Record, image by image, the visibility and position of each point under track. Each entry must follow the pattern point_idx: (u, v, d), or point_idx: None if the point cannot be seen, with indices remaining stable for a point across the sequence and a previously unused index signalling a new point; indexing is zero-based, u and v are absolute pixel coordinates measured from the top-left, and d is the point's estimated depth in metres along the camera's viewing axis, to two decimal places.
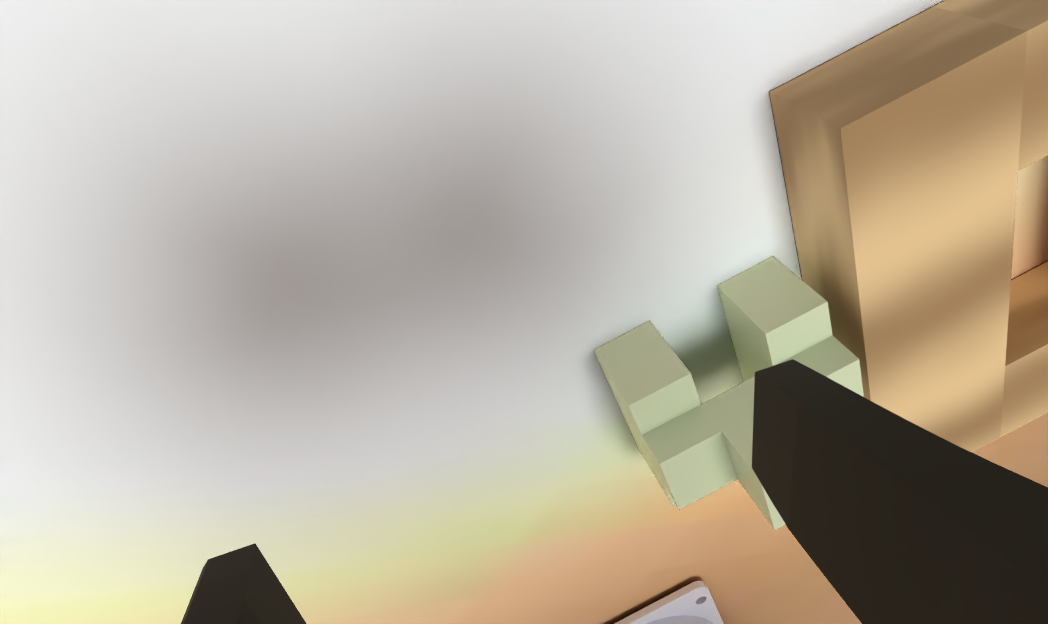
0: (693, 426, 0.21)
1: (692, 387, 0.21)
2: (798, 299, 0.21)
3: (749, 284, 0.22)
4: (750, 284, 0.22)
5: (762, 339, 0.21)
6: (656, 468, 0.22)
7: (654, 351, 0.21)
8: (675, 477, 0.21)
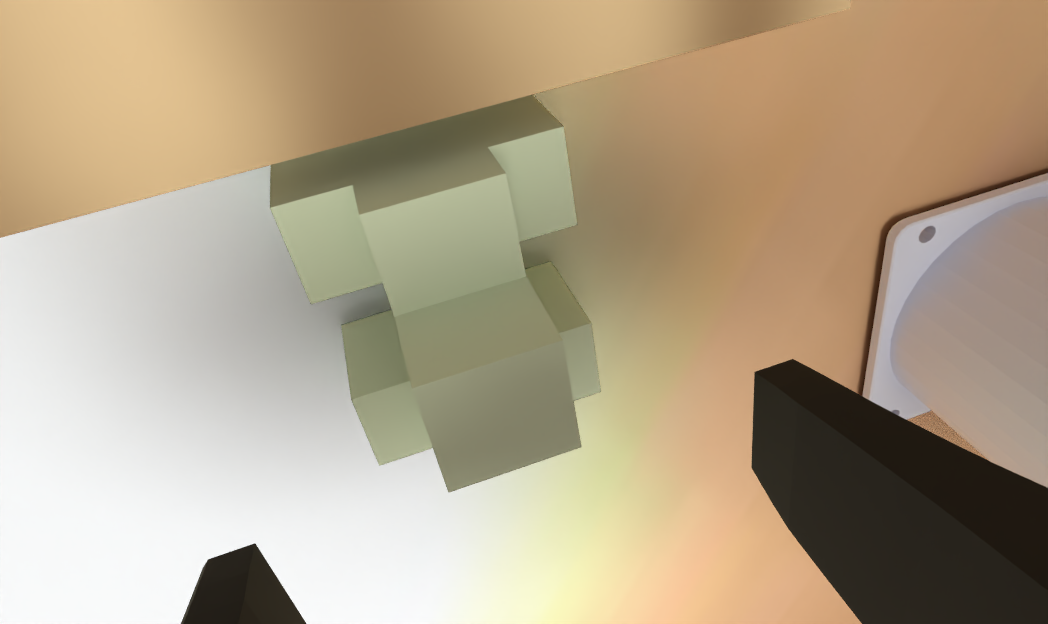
0: None
1: (379, 394, 0.15)
2: None
3: None
4: None
5: (332, 290, 0.13)
6: None
7: None
8: None
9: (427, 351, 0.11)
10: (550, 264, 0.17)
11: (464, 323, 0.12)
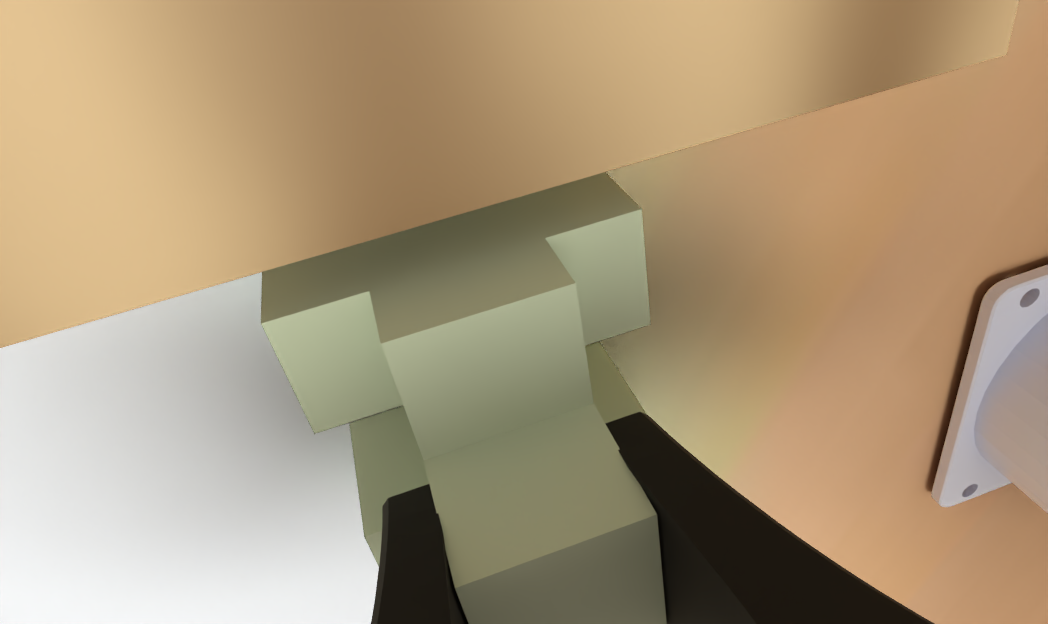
0: None
1: None
2: None
3: None
4: None
5: (341, 412, 0.10)
6: None
7: None
8: None
9: (471, 522, 0.08)
10: (600, 347, 0.14)
11: (518, 477, 0.09)
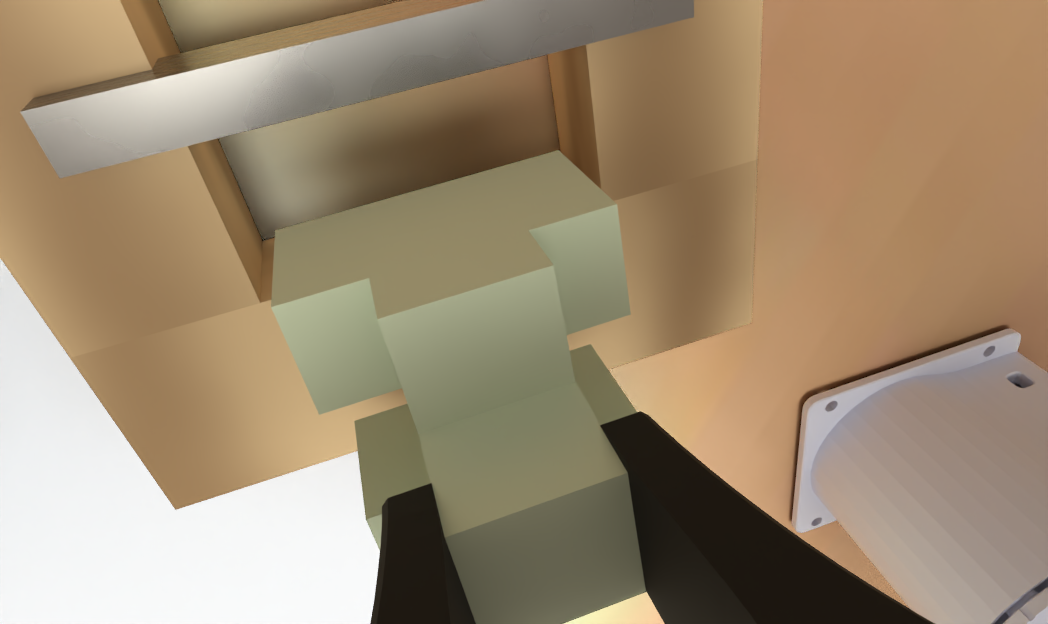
0: None
1: None
2: None
3: None
4: None
5: (345, 396, 0.11)
6: None
7: None
8: None
9: (460, 484, 0.09)
10: (591, 348, 0.15)
11: (504, 445, 0.10)
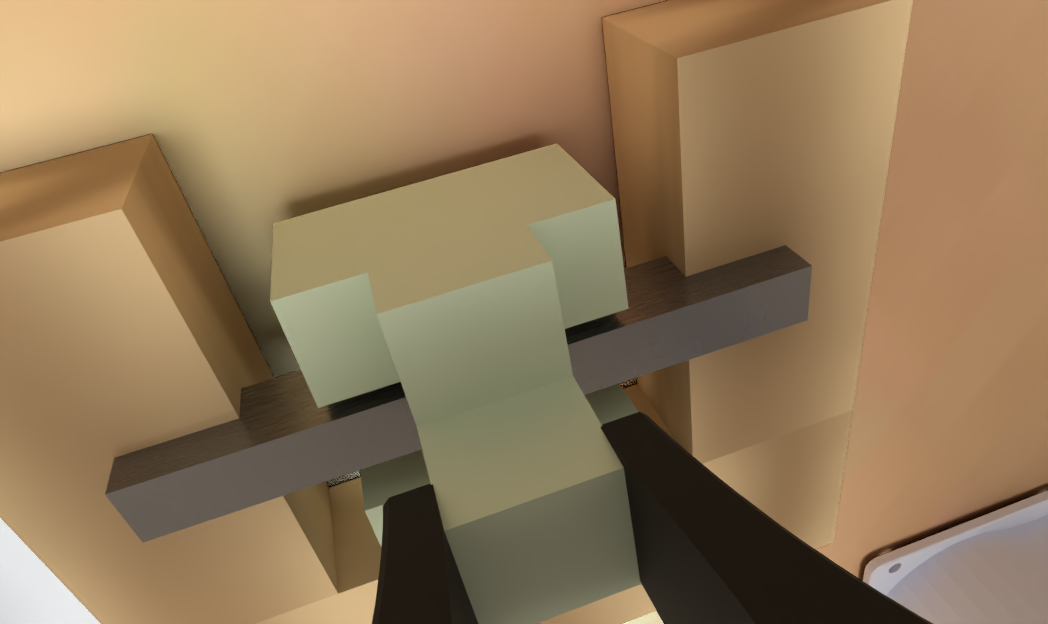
0: None
1: None
2: None
3: None
4: None
5: (343, 390, 0.11)
6: None
7: None
8: None
9: (458, 478, 0.09)
10: None
11: (502, 439, 0.10)
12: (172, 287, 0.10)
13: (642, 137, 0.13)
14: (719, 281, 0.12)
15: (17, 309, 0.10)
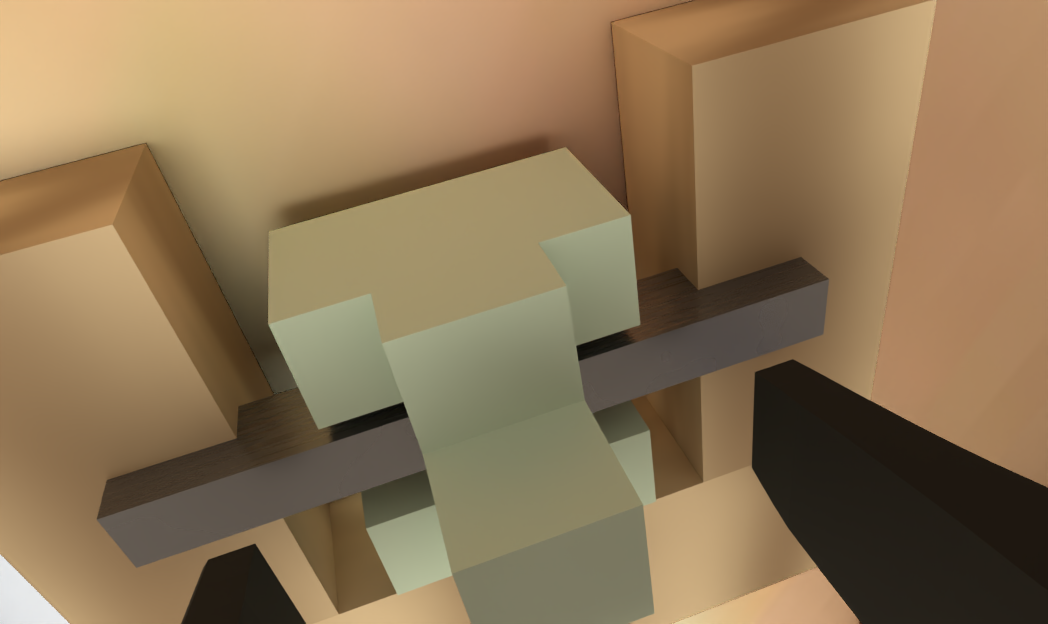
0: None
1: (399, 521, 0.12)
2: None
3: None
4: None
5: (344, 409, 0.11)
6: None
7: None
8: None
9: (468, 513, 0.09)
10: None
11: (512, 470, 0.09)
12: (166, 304, 0.10)
13: (653, 146, 0.12)
14: (732, 294, 0.12)
15: (3, 328, 0.09)
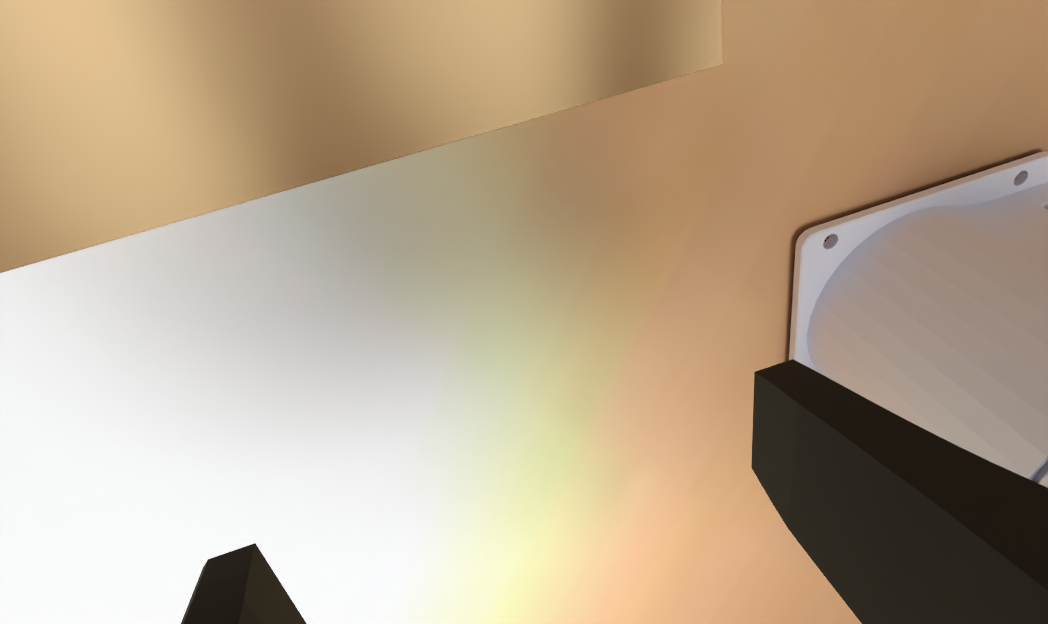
0: None
1: None
2: None
3: None
4: None
5: None
6: None
7: None
8: None
9: None
10: None
11: None
12: None
13: None
14: None
15: None
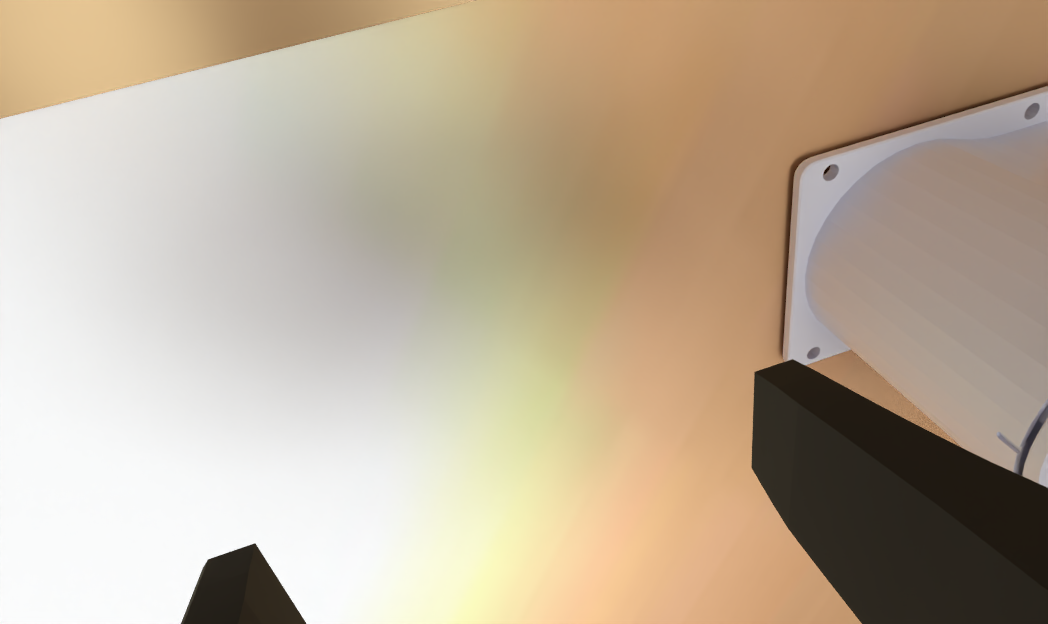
0: None
1: None
2: None
3: None
4: None
5: None
6: None
7: None
8: None
9: None
10: None
11: None
12: None
13: None
14: None
15: None
